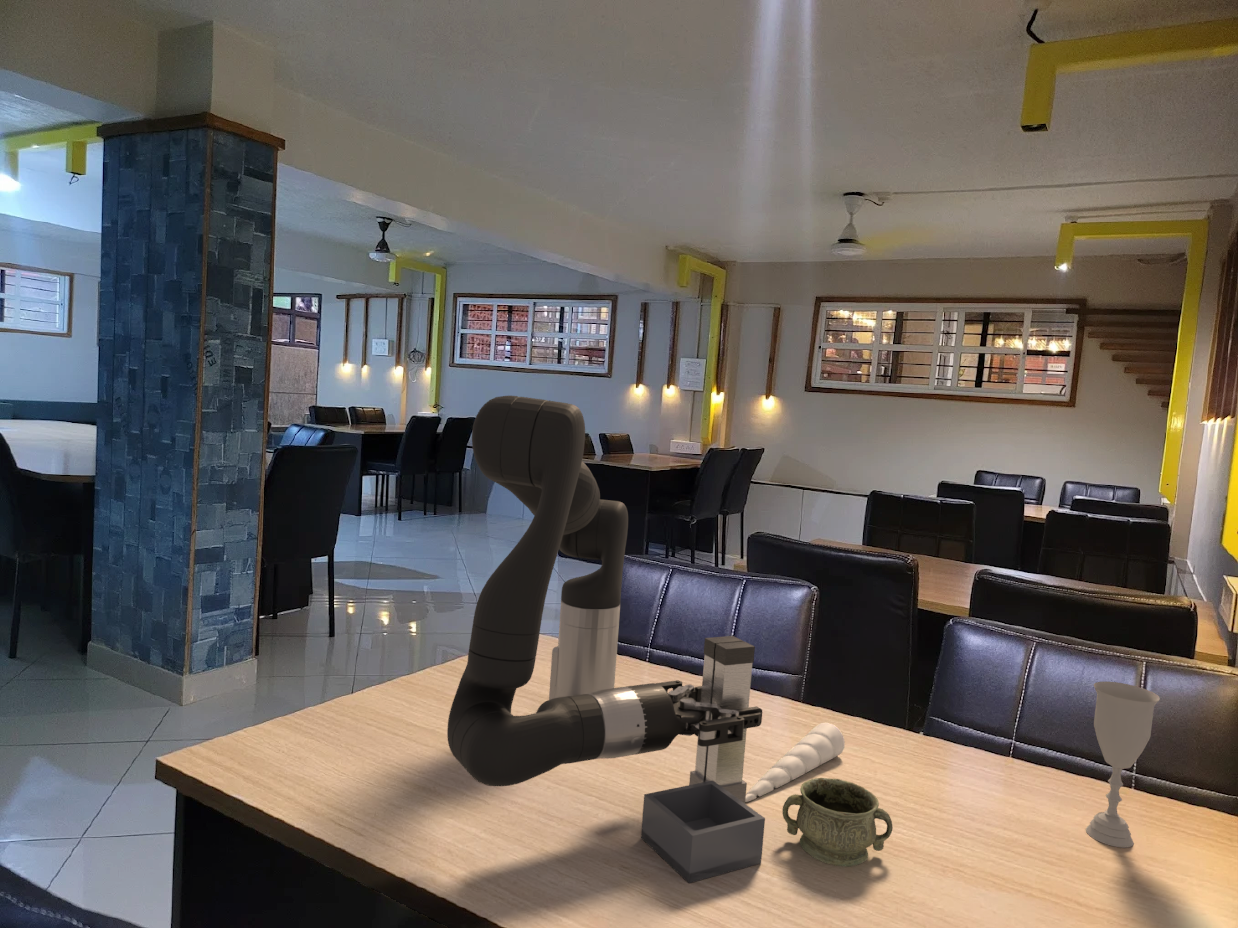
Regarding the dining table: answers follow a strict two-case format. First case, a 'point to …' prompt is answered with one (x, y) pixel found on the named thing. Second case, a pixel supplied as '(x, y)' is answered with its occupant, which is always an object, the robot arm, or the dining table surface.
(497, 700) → the robot arm
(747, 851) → the grey open storage bin
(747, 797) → the unicorn horn
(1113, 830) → the chalice
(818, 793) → the vessel
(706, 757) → the split metal pillar
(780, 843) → the dining table surface
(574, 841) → the dining table surface
